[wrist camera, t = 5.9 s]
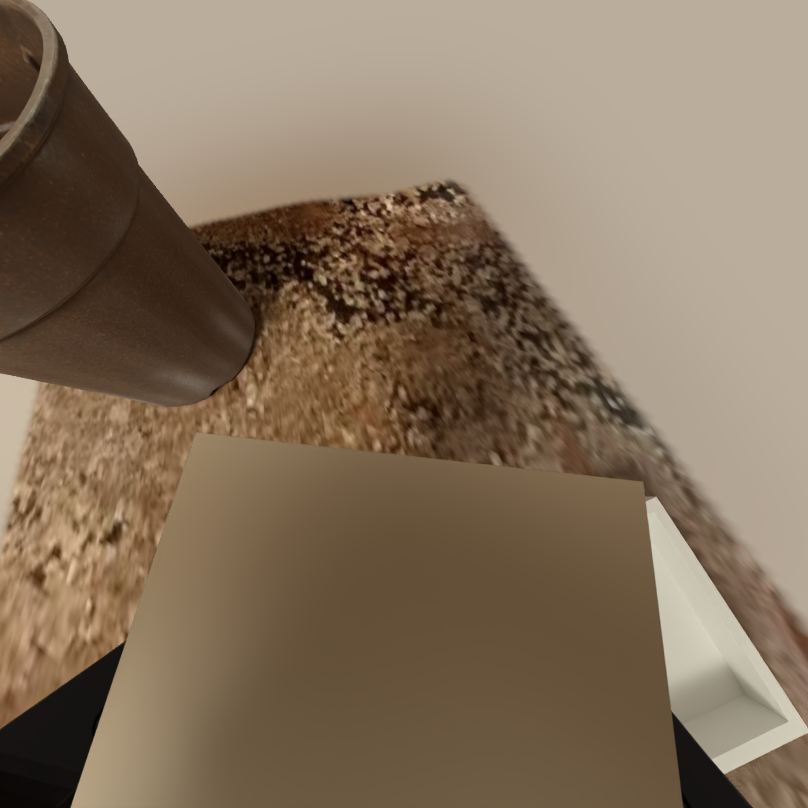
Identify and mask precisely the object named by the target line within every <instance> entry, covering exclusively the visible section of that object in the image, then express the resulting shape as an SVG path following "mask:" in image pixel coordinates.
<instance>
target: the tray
mask: <svg viewBox="0 0 808 808" xmlns="http://www.w3.org/2000/svg"><path fill="white" fill-rule="evenodd" d="M645 499H646V507H647V516H648V524H649V532H650V540H651V548H652V557H653V565H654V573H655V581H656V589H657V598H658V606H659V614H660V622H661V630H662V639H663V647H664V655H665V663H666V671H667V680H668V688H669V696H670V704H671V711H672V712H673V713H674V714H675V715H676V717H677V718H678V719H679V720H680V722H681V723H682V724H683V725H684V727H685V728H686V729H687V730H688V732H689V733H690V734H691V735H692V736H693V738H694V739H695V740H696V741H697V743H698V744H699V745H700V746H701V748H702V749H703V750H704V751H705V752H706V754H707V755H708V756H709V757H710V758H711V760H712V761H713V762H714V763H715V764H716V765H717V767H718V768H719V769H720V770H721V771H722V772H723V774H725V773H727V772H729V771H731V770H734V769H736V768H738V767H740V766H742V765H744V764H746V763H748V762H750V761H752V760H754V759H756V758H758V757H760V756H762V755H764V754H766V753H768V752H770V751H772V750H774V749H776V748H778V747H780V746H782V745H784V744H786V743H788V742H790V741H792V740H794V739H796V738H798V737H800V736H802V735H804V734H806V733H808V728H807V726H806V725H805V723H804V722H803V720H802V719H801V717H800V716H799V714H798V713H797V711H796V709H795V708H794V706H793V705H792V703H791V702H790V700H789V699H788V697H787V696H786V694H785V693H784V691H783V690H782V688H781V687H780V685H779V683H778V682H777V680H776V679H775V677H774V676H773V674H772V673H771V671H770V670H769V668H768V667H767V665H766V664H765V662H764V661H763V659H762V657H761V656H760V654H759V653H758V651H757V650H756V648H755V647H754V645H753V644H752V642H751V641H750V639H749V638H748V636H747V635H746V633H745V631H744V630H743V628H742V627H741V625H740V624H739V622H738V621H737V619H736V618H735V616H734V615H733V613H732V612H731V610H730V609H729V607H728V605H727V604H726V602H725V601H724V599H723V598H722V596H721V595H720V593H719V592H718V590H717V589H716V587H715V586H714V584H713V583H712V581H711V579H710V578H709V576H708V575H707V573H706V572H705V570H704V569H703V567H702V566H701V564H700V563H699V561H698V560H697V558H696V557H695V555H694V553H693V552H692V550H691V549H690V547H689V546H688V544H687V543H686V541H685V540H684V538H683V537H682V535H681V534H680V532H679V530H678V529H677V527H676V526H675V524H674V523H673V521H672V520H671V518H670V517H669V515H668V514H667V512H666V511H665V509H664V508H663V506H662V504H661V503H660V501H659V500H658V498H657V497H646V496H645Z"/></svg>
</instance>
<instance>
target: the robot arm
mask: <svg viewBox="0 0 808 808" xmlns="http://www.w3.org/2000/svg"><path fill="white" fill-rule="evenodd" d="M125 643H126V641H125V642H123V643H122V644H120V645H119V646H118V647H116V648H115V649H113V650H112V651H111V652H109V653H108V654H106V655H105V656H104V657H102V658H101V659H99V660H98V661H97V662H95V663H94V664H92V665H91V666H90V667H88V668H87V669H85V670H84V671H82V672H81V673H80V674H78V675H77V676H75V677H74V678H72V679H71V680H70V681H68V682H67V683H65V684H64V685H62V686H61V687H60V688H58V689H57V690H55V691H54V692H52V693H51V694H49V695H48V696H47V697H45V698H44V699H42V700H41V701H39V702H38V703H37V704H35V705H34V706H32V707H31V708H29V709H28V710H27V711H25V712H24V713H22V714H21V715H19V716H18V717H17V718H15V719H14V720H12V721H11V722H9V723H8V724H6V725H5V726H4V727H2V728H1V729H0V808H71V805H72V802H73V799H74V796H75V793H76V790H77V787H78V784H79V781H80V778H81V775H82V772H83V769H84V766H85V763H86V760H87V757H88V754H89V751H90V748H91V745H92V742H93V739H94V736H95V733H96V730H97V727H98V724H99V721H100V718H101V715H102V712H103V709H104V706H105V703H106V700H107V697H108V694H109V691H110V688H111V685H112V682H113V679H114V676H115V673H116V670H117V667H118V664H119V661H120V658H121V655H122V652H123V649H124V646H125ZM671 712H672V711H671ZM672 721H673V729H674V737H675V745H676V753H677V762H678V770H679V778H680V786H681V795H682V803H683V808H753V807H752V806H751V805H750V804H749V803H748V802H747V800H746V799H745V798H744V797H743V796H742V795H741V793H740V792H739V791H738V790H737V789H736V788H735V786H734V785H733V784H732V783H731V782H730V781H729V779H728V778H727V777H726V776H725V775H724V774H723V772H722V771H721V770H720V769H719V768H718V767H717V765H716V764H715V763H714V762H713V761H712V760H711V758H710V757H709V756H708V755H707V754H706V752H705V751H704V750H703V749H702V748H701V746H700V745H699V744H698V743H697V741H696V740H695V739H694V738H693V736H692V735H691V734H690V733H689V732H688V730H687V729H686V728H685V727H684V725H683V724H682V723H681V722H680V720H679V719H678V718H677V717H676V715H675V714H674V713H673V712H672Z"/></svg>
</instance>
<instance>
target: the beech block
mask: <svg viewBox="0 0 808 808" xmlns="http://www.w3.org/2000/svg"><path fill="white" fill-rule="evenodd" d="M71 808H683V803H682V795H681V786H680V778H679V770H678V762H677V753H676V745H675V737H674V729H673V721H672V712H671V704H670V696H669V688H668V680H667V671H666V663H665V655H664V647H663V639H662V630H661V622H660V614H659V606H658V598H657V589H656V581H655V573H654V565H653V557H652V548H651V540H650V532H649V524H648V516H647V507H646V499H645V491H644V483H643V482H642V481H633V480H624V479H615V478H606V477H597V476H587V475H578V474H569V473H560V472H551V471H542V470H533V469H524V468H514V467H505V466H496V465H487V464H478V463H469V462H460V461H451V460H442V459H432V458H423V457H414V456H405V455H396V454H387V453H378V452H369V451H359V450H350V449H341V448H332V447H323V446H314V445H305V444H296V443H287V442H277V441H268V440H259V439H250V438H241V437H232V436H223V435H214V434H204V433H196V434H195V437H194V440H193V443H192V446H191V449H190V452H189V455H188V458H187V461H186V464H185V467H184V470H183V473H182V476H181V479H180V482H179V485H178V488H177V490H176V493H175V496H174V499H173V502H172V505H171V508H170V511H169V514H168V517H167V520H166V523H165V526H164V529H163V532H162V535H161V538H160V541H159V544H158V547H157V550H156V553H155V556H154V559H153V562H152V565H151V568H150V571H149V574H148V577H147V580H146V583H145V586H144V589H143V592H142V595H141V598H140V601H139V604H138V607H137V610H136V613H135V616H134V619H133V622H132V625H131V628H130V631H129V634H128V637H127V640H126V643H125V646H124V649H123V652H122V655H121V658H120V661H119V664H118V667H117V670H116V673H115V676H114V679H113V682H112V685H111V688H110V691H109V694H108V697H107V700H106V703H105V706H104V709H103V712H102V715H101V718H100V721H99V724H98V727H97V730H96V733H95V736H94V739H93V742H92V745H91V748H90V751H89V754H88V757H87V760H86V763H85V766H84V769H83V772H82V775H81V778H80V781H79V784H78V787H77V790H76V793H75V796H74V799H73V802H72V805H71Z"/></svg>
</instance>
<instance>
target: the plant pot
mask: <svg viewBox="0 0 808 808" xmlns="http://www.w3.org/2000/svg"><path fill="white" fill-rule="evenodd" d="M254 334H255V322H254V317H253V313H252V310H251V308H250V307H249V305H248V303H247V302H246V300H245V299H244V297H243V296H242V294H241V293H240V292H239V291H238V290H237V289H236V287H235V286H234V285H233V284H232V282H231V281H230V280H229V279H228V277H227V276H226V275H225V274H224V272H223V271H222V270H221V269H220V267H219V266H218V265H217V264H216V262H215V261H214V260H213V259H212V257H211V256H210V255H209V254H208V252H207V251H206V250H205V248H204V247H203V246H202V245H201V243H200V242H199V241H198V240H197V238H196V237H195V236H194V235H193V233H192V232H191V231H190V230H189V228H188V227H187V226H186V225H185V223H184V222H183V221H182V219H181V218H180V217H179V216H178V215H177V213H176V212H175V211H174V209H173V208H172V207H171V206H170V204H169V203H168V202H167V201H166V199H165V198H164V197H163V195H162V194H161V193H160V192H159V190H158V189H157V188H156V186H155V185H154V184H153V183H152V181H151V180H150V179H149V178H148V176H147V175H146V174H145V172H144V171H143V170H142V168H141V167H140V166H139V165H138V161H137V158H136V156H135V153H134V151H133V149H132V147H131V145H130V143H129V142H128V141H127V139H126V138H125V137H124V135H123V134H122V133H121V131H120V130H119V129H118V127H117V126H116V125H115V123H114V122H113V121H112V119H111V118H110V117H109V116H108V114H107V113H106V112H105V110H104V109H103V108H102V106H101V105H100V104H99V102H98V101H97V100H96V99H95V97H94V96H93V94H92V93H91V92H90V90H89V89H88V88H87V86H86V85H85V84H84V82H83V81H82V80H81V78H80V77H79V76H78V74H77V73H76V71H75V70H74V69H73V67H72V66H71V64H70V63H69V60H68V54H67V50H66V46H65V44H64V41H63V39H62V37H61V35H60V34H59V32H58V31H57V29H56V28H55V27H54V25H53V24H52V22H51V21H50V19H49V18H48V17H47V16H46V14H45V13H44V12H43V11H42V10H41V9H39V8H38V7H37V6H35V5H34V4H33V3H31V2H29V1H27V0H0V373H2V374H7V375H12V376H17V377H22V378H27V379H32V380H36V381H41V382H46V383H51V384H57V385H62V386H67V387H72V388H77V389H82V390H86V391H91V392H96V393H101V394H106V395H111V396H116V397H120V398H125V399H130V400H135V401H139V402H144V403H148V404H153V405H158V406H184V405H189V404H194V403H197V402H199V401H202V400H204V399H206V398H208V397H210V396H211V393H212V392H213V391H214V390H215V389H216V388H218V387H220V386H221V385H223V384H225V383H227V382H230V381H231V380H232V379H233V378H234V377H235V376H236V375H237V374H238V372H239V371H240V370H241V368H242V367H243V365H244V364H245V362H246V360H247V358H248V356H249V353H250V351H251V348H252V344H253V340H254Z"/></svg>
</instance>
